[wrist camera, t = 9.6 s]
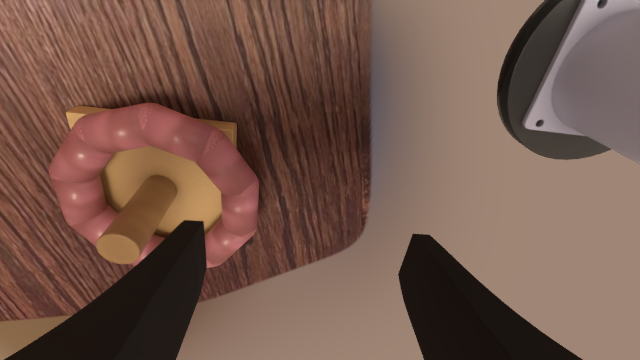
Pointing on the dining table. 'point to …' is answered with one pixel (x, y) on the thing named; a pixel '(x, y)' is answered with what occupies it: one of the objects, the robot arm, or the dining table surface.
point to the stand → (153, 194)
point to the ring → (168, 135)
